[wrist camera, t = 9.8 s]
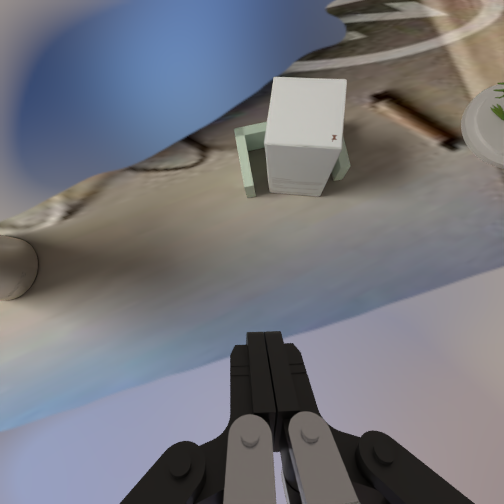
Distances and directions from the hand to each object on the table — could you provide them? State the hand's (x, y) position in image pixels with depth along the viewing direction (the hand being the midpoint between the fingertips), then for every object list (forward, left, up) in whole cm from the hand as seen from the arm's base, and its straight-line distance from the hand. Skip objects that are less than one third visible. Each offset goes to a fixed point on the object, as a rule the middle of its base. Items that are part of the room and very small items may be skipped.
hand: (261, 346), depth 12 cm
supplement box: (-8, +18, -24) cm, 31 cm away
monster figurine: (+13, +38, -24) cm, 47 cm away
